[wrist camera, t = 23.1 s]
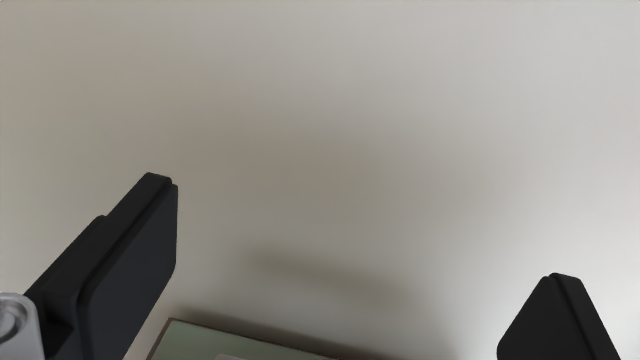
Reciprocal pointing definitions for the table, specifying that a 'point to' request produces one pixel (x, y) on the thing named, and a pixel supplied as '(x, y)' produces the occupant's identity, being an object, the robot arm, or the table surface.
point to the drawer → (220, 346)
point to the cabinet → (211, 329)
